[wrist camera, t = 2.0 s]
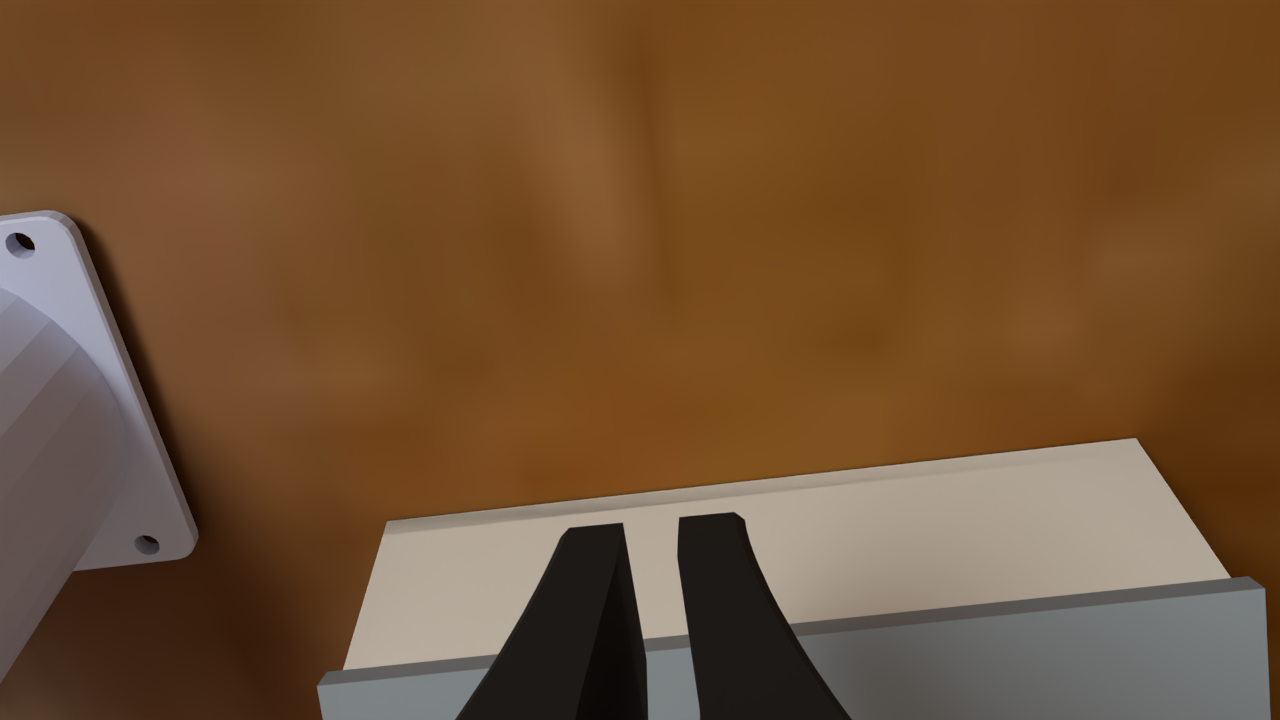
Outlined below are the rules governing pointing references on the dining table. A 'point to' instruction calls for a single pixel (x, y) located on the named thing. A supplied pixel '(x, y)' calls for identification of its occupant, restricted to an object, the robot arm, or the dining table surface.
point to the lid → (949, 662)
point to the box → (805, 546)
